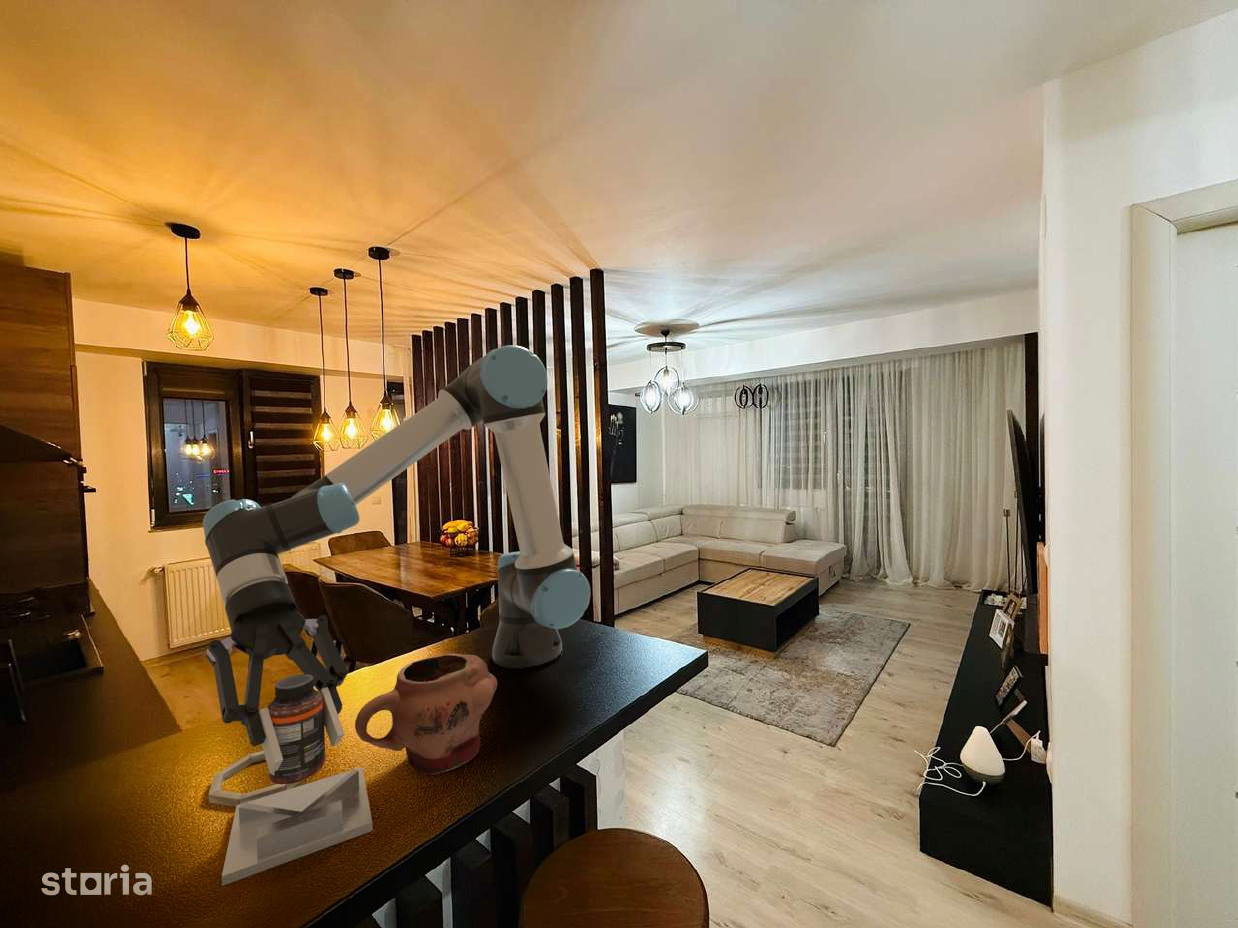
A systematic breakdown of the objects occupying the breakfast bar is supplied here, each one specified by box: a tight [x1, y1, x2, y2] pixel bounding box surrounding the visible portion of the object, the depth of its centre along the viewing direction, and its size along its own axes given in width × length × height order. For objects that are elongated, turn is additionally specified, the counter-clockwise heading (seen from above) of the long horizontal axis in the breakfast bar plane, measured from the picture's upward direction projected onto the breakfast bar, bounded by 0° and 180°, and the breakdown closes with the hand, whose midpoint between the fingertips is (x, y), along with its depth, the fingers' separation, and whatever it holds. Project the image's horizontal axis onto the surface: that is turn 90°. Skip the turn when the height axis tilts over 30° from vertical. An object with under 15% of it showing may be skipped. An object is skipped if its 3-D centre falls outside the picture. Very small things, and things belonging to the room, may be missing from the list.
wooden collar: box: [208, 750, 304, 808], centre depth 71 cm, size 12×12×1 cm
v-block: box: [221, 766, 374, 887], centre depth 62 cm, size 13×14×4 cm
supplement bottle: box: [267, 673, 326, 785], centre depth 63 cm, size 6×6×11 cm
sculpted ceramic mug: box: [354, 653, 498, 775], centre depth 73 cm, size 20×12×14 cm, turn 138°
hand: (308, 752), depth 60 cm, fingers closed on supplement bottle, 6 cm apart
